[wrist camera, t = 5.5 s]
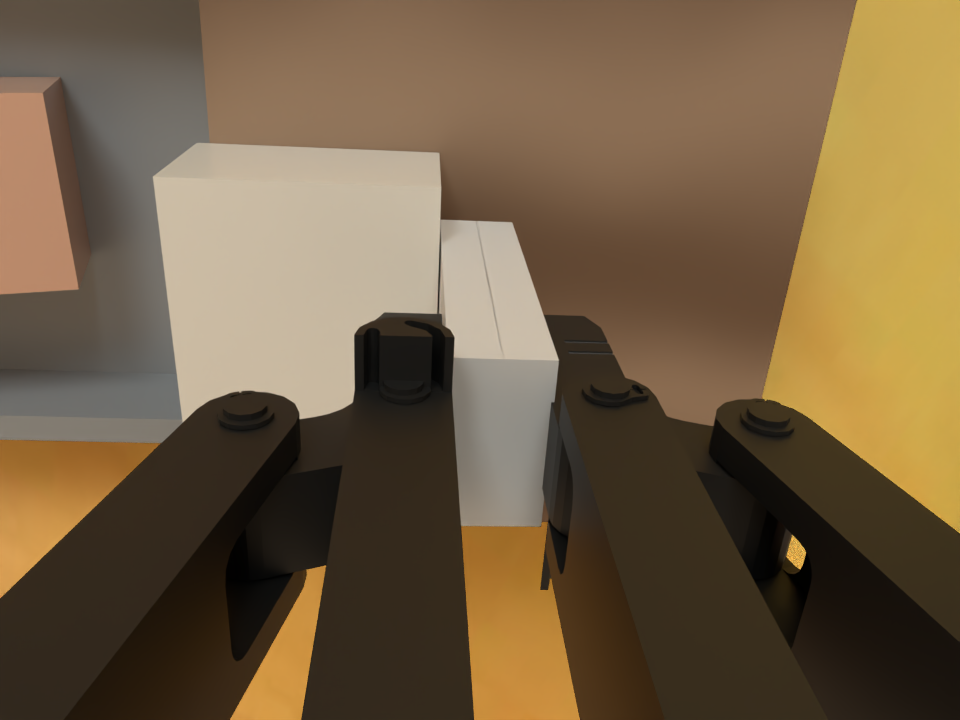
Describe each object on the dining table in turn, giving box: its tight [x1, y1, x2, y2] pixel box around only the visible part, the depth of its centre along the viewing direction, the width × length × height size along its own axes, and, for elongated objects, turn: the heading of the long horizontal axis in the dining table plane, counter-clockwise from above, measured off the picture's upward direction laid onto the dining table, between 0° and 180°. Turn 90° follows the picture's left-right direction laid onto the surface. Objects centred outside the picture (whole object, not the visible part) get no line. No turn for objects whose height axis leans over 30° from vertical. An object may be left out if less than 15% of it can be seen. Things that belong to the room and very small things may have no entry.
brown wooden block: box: [199, 0, 857, 522], centre depth 22 cm, size 14×13×7 cm
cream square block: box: [153, 143, 441, 422], centre depth 17 cm, size 5×5×3 cm
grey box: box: [0, 0, 210, 443], centre depth 22 cm, size 14×12×4 cm
